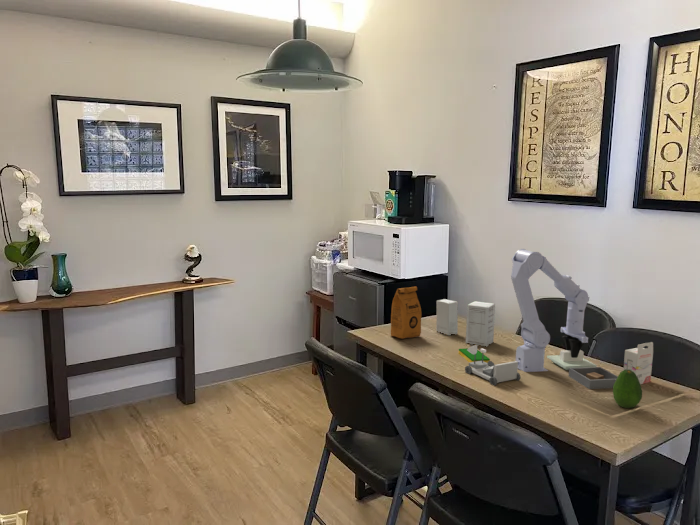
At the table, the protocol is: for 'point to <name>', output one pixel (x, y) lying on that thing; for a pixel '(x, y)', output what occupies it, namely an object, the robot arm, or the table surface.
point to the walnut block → (594, 376)
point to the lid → (570, 360)
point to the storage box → (580, 377)
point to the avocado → (627, 389)
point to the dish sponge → (473, 356)
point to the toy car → (492, 369)
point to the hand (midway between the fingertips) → (572, 356)
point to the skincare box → (447, 317)
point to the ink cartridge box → (640, 361)
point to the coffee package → (405, 314)
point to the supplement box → (480, 323)
